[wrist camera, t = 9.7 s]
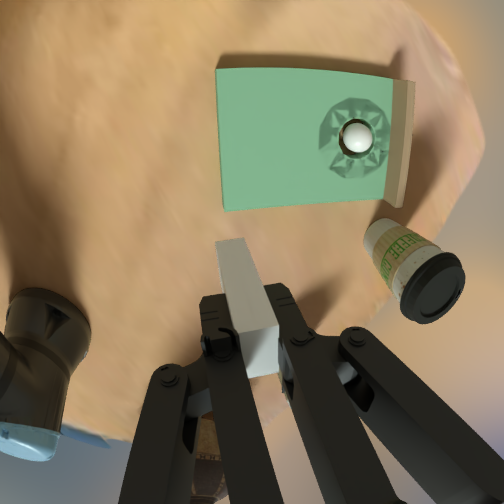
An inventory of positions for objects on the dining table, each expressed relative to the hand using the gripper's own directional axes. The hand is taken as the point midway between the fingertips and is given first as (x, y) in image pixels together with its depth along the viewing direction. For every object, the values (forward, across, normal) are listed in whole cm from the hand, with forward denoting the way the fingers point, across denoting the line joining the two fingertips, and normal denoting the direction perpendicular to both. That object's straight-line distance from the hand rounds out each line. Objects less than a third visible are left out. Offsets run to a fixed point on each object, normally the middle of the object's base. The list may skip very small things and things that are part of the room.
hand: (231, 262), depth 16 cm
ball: (+19, +18, +2) cm, 26 cm away
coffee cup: (+21, +24, -13) cm, 34 cm away
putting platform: (+20, +13, +2) cm, 24 cm away
